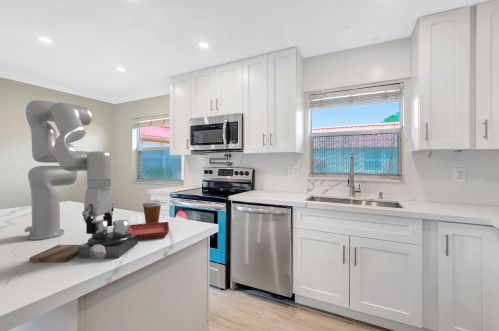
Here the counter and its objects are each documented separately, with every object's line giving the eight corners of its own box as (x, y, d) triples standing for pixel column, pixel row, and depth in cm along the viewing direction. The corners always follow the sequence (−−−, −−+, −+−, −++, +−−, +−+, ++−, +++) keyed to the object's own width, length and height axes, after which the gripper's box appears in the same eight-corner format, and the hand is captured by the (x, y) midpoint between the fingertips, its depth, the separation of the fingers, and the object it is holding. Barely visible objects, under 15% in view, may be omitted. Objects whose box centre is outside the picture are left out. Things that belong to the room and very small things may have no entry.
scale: (76, 261, 80) (76, 244, 80) (103, 245, 95) (102, 231, 95) (117, 261, 80) (117, 244, 80) (137, 245, 95) (137, 231, 95)
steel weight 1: (88, 239, 85) (88, 223, 85) (97, 235, 90) (97, 219, 90) (102, 239, 85) (102, 223, 85) (110, 235, 90) (110, 219, 90)
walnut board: (29, 262, 77) (29, 257, 77) (58, 248, 89) (58, 244, 89) (65, 262, 78) (65, 257, 78) (89, 248, 90) (89, 244, 90)
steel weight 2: (110, 239, 85) (109, 223, 85) (117, 235, 90) (117, 219, 90) (123, 239, 85) (123, 223, 85) (130, 235, 90) (130, 219, 90)
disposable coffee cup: (157, 226, 120) (157, 203, 120) (139, 226, 120) (138, 203, 120) (164, 221, 129) (164, 200, 129) (147, 221, 130) (147, 200, 129)
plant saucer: (129, 231, 113) (129, 224, 113) (168, 227, 120) (168, 221, 119) (123, 243, 96) (123, 235, 96) (169, 238, 103) (169, 231, 103)
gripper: (103, 182, 96) (104, 223, 96) (72, 186, 79) (73, 237, 79) (121, 182, 96) (122, 223, 96) (94, 186, 79) (95, 236, 79)
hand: (100, 229), depth 87 cm, fingers open, 9 cm apart
